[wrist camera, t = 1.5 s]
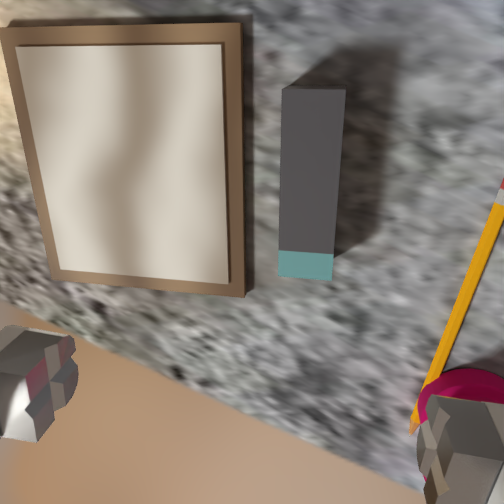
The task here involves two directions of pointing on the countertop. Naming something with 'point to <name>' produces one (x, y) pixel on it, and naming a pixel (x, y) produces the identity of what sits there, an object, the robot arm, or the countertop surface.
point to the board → (135, 151)
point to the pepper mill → (463, 388)
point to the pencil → (464, 296)
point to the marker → (309, 179)
